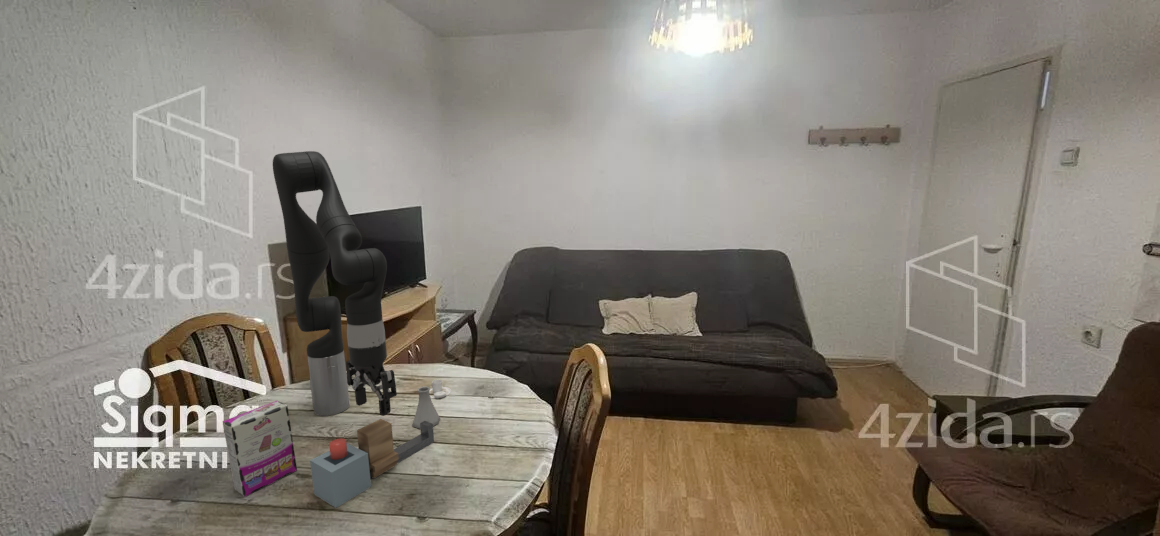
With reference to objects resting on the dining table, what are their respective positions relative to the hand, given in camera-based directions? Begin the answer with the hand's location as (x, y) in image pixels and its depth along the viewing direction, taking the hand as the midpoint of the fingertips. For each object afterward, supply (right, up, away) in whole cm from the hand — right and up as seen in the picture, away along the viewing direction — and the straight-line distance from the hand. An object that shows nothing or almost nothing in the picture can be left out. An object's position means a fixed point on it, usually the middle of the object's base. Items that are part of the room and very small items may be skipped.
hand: (373, 409), depth 107 cm
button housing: (-5, -16, -4) cm, 17 cm away
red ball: (-5, -8, -6) cm, 11 cm away
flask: (+4, -11, +24) cm, 27 cm away
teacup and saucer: (0, -8, +40) cm, 41 cm away
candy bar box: (-23, -16, -1) cm, 28 cm away
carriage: (0, -15, +3) cm, 15 cm away
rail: (+2, -14, +6) cm, 16 cm away
